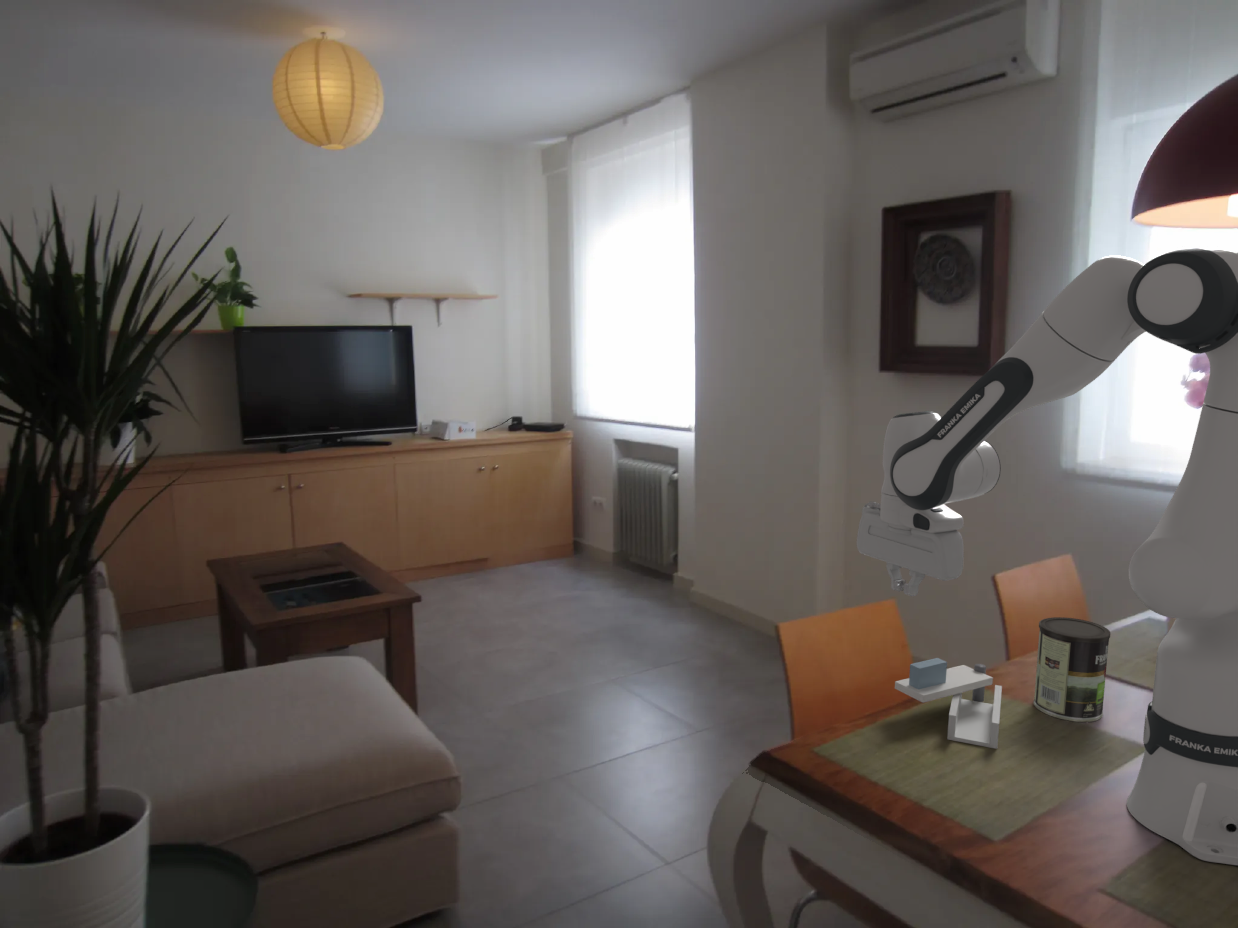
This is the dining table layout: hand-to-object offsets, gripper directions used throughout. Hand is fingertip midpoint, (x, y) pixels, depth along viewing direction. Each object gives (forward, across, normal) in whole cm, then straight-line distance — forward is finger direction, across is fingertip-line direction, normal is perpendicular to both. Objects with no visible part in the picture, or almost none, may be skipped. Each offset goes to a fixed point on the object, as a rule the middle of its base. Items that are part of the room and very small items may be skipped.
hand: (904, 592), depth 140 cm
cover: (+19, +6, +4) cm, 20 cm away
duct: (+19, +11, +5) cm, 23 cm away
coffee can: (+19, +14, +23) cm, 33 cm away
